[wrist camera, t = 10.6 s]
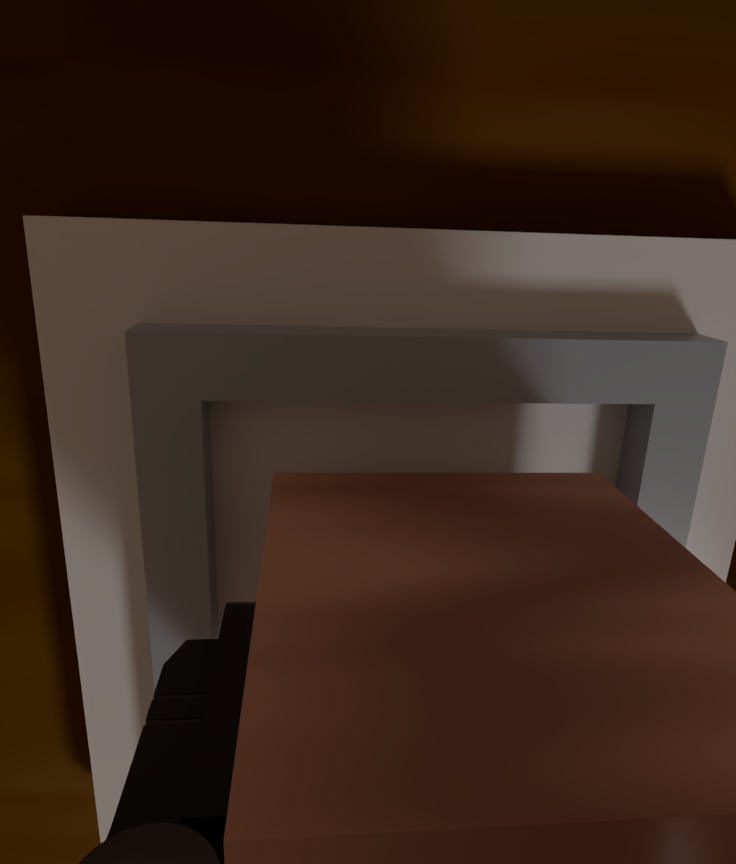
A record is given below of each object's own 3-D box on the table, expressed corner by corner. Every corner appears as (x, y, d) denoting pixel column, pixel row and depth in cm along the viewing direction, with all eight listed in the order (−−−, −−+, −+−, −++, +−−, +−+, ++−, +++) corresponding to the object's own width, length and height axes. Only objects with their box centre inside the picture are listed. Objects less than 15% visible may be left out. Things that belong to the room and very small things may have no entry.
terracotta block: (598, 473, 10) (977, 801, 4) (559, 732, 12) (799, 1225, 6) (273, 472, 10) (223, 840, 4) (276, 744, 11) (242, 1292, 5)
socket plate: (755, 239, 12) (843, 243, 10) (645, 771, 15) (692, 849, 13) (53, 215, 10) (-3, 214, 9) (117, 797, 14) (88, 886, 12)
